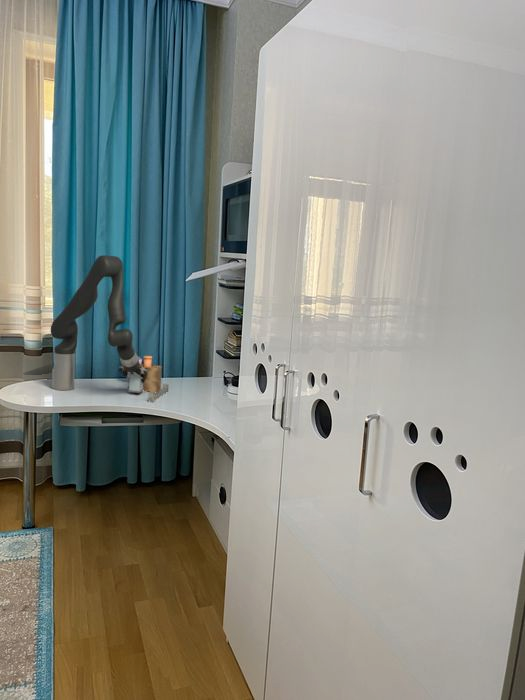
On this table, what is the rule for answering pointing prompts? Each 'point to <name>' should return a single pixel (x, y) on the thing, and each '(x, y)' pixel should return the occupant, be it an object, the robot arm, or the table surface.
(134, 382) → the pale grey rectangular block
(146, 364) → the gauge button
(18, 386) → the table surface
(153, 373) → the end cabinet
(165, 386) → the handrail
